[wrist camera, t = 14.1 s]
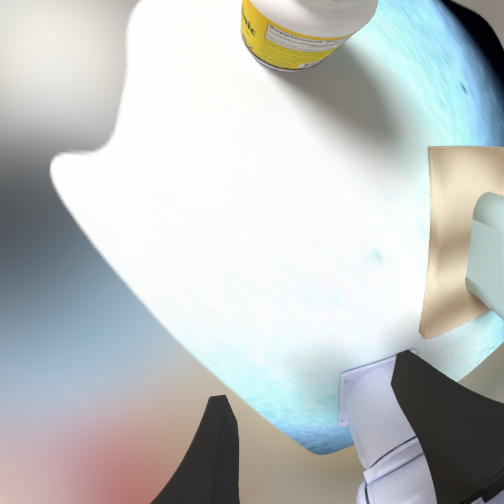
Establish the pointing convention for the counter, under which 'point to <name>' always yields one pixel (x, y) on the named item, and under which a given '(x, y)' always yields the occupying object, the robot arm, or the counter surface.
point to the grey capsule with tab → (487, 252)
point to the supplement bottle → (300, 29)
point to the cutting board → (455, 231)
